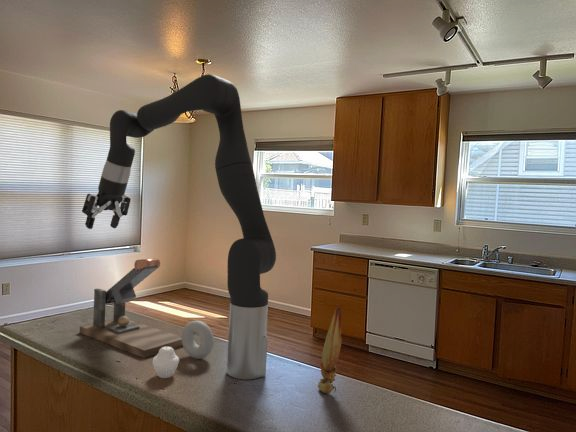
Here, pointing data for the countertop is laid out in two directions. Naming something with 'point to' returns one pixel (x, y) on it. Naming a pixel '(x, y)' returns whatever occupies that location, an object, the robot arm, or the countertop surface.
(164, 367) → the white rounded bulbous piece
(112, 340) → the cracker base
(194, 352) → the donut
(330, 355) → the tan tall pointed piece
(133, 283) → the lever
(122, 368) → the countertop surface
